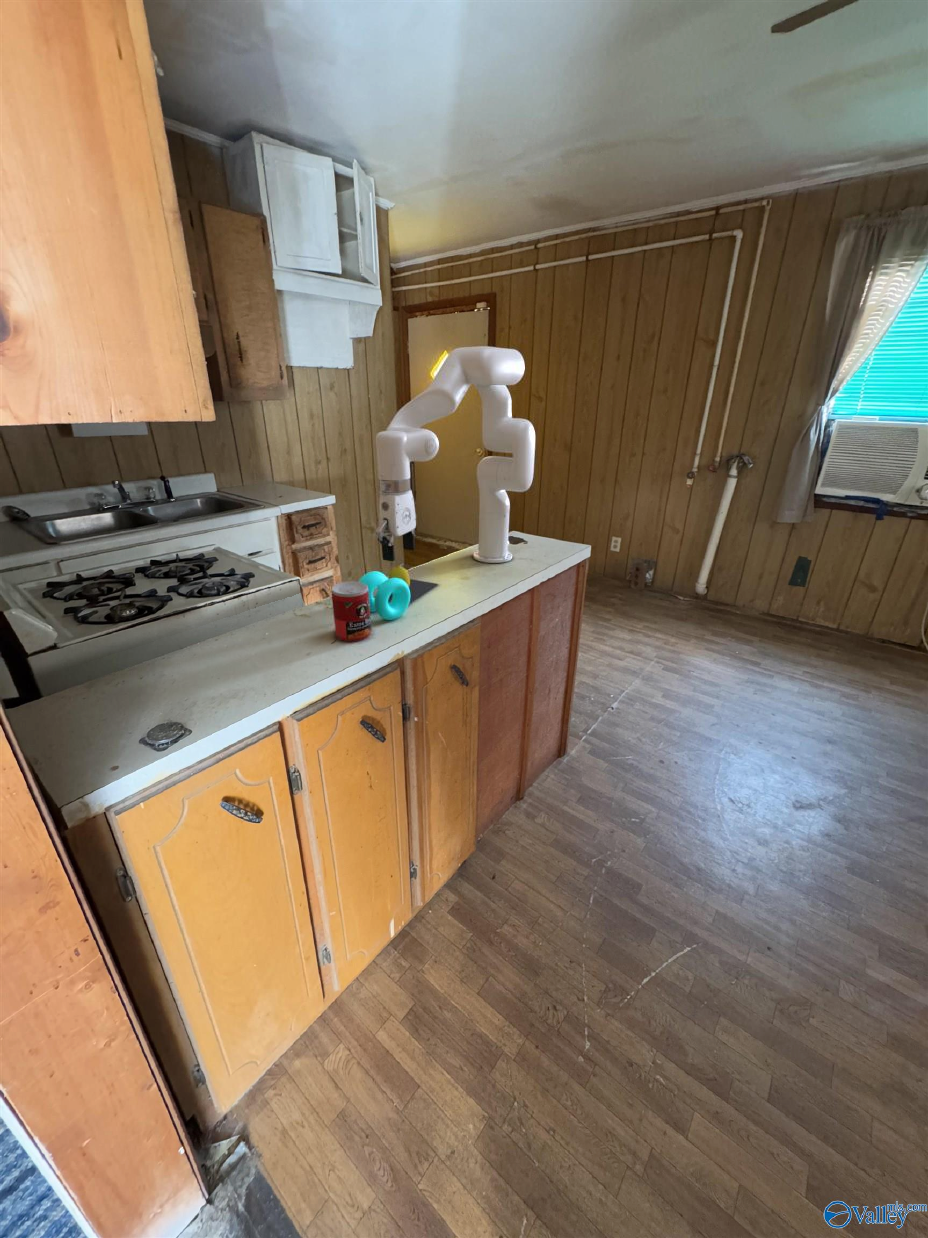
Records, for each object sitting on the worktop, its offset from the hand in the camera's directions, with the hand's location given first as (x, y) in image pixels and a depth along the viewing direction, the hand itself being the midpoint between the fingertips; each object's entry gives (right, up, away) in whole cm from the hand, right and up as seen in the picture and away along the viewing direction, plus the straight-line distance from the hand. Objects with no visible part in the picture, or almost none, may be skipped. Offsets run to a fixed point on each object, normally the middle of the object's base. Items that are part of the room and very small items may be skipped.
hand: (399, 554), depth 127 cm
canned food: (-8, -20, -17) cm, 27 cm away
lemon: (0, -10, +4) cm, 11 cm away
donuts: (-3, -15, -7) cm, 17 cm away
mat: (+1, -9, +7) cm, 11 cm away
